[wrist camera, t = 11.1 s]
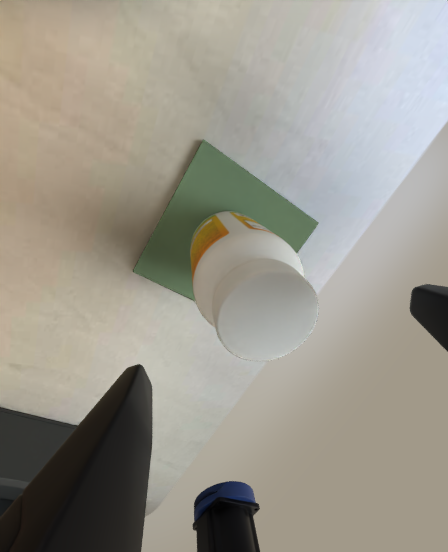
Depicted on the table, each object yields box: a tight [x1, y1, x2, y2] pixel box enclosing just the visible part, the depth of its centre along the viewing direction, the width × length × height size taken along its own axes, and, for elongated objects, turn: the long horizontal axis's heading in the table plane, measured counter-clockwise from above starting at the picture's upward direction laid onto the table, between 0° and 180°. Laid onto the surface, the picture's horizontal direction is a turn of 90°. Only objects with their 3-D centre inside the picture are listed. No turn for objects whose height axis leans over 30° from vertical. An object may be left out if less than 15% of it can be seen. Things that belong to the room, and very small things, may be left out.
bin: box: [0, 408, 78, 517], centre depth 22 cm, size 13×13×5 cm
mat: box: [133, 140, 318, 301], centre depth 18 cm, size 10×10×1 cm
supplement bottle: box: [190, 211, 319, 361], centre depth 13 cm, size 5×5×10 cm
